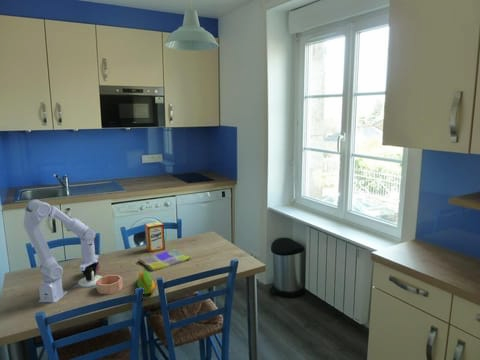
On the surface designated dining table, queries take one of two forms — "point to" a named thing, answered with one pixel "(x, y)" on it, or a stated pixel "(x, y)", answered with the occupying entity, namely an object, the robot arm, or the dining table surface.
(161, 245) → the baking soda box
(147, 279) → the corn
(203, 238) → the dining table surface
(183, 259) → the dish towel
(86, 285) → the lid
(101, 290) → the bowl
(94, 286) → the mat
